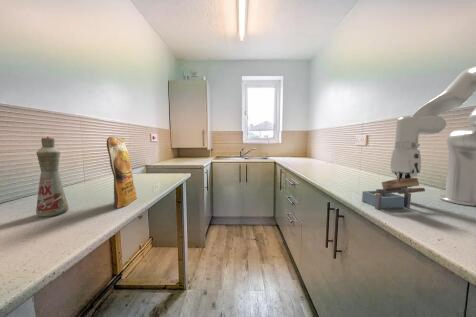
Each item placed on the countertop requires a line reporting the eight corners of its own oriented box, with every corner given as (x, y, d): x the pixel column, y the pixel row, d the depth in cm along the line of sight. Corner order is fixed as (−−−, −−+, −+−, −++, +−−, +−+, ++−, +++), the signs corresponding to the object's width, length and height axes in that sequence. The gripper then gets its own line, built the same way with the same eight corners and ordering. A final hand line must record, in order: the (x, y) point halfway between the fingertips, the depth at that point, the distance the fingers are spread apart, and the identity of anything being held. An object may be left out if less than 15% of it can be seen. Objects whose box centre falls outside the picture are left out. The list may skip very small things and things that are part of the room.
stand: (409, 208, 79) (411, 193, 78) (378, 209, 77) (379, 194, 76) (406, 206, 80) (407, 192, 80) (374, 208, 79) (375, 193, 78)
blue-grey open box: (403, 208, 79) (404, 196, 79) (381, 209, 78) (381, 197, 77) (382, 200, 89) (382, 190, 88) (362, 201, 88) (362, 191, 87)
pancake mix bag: (103, 210, 77) (98, 136, 74) (126, 196, 96) (123, 137, 93) (122, 209, 77) (118, 136, 75) (141, 196, 96) (138, 137, 94)
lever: (448, 189, 72) (444, 177, 74) (394, 190, 70) (391, 178, 71) (404, 194, 89) (402, 184, 90) (359, 196, 86) (357, 186, 88)
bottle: (75, 210, 77) (69, 136, 74) (46, 219, 68) (39, 136, 66) (59, 208, 79) (53, 136, 77) (30, 216, 71) (22, 136, 68)
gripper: (432, 146, 79) (428, 192, 81) (397, 145, 94) (394, 184, 95) (415, 146, 78) (411, 193, 80) (383, 145, 93) (380, 184, 95)
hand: (402, 188), depth 88 cm, fingers closed
